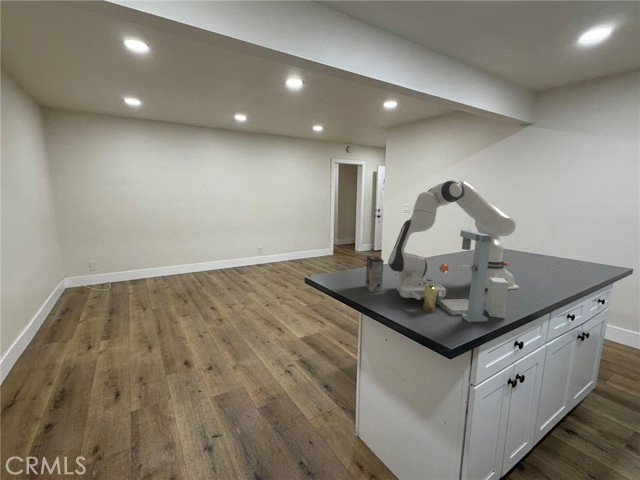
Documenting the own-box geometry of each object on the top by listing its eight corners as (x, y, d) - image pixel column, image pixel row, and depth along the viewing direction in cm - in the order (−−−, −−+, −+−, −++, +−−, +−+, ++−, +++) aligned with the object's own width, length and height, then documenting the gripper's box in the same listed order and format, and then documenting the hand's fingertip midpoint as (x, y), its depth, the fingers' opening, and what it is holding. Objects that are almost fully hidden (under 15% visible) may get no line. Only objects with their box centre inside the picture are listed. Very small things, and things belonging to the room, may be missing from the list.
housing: (431, 307, 130) (433, 282, 128) (436, 311, 125) (439, 285, 123) (421, 307, 129) (423, 282, 127) (426, 312, 125) (428, 285, 123)
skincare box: (505, 319, 120) (510, 283, 117) (488, 316, 122) (492, 281, 119) (500, 311, 127) (505, 277, 125) (484, 309, 129) (488, 276, 127)
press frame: (465, 306, 132) (473, 230, 126) (487, 321, 117) (498, 235, 111) (448, 307, 131) (455, 230, 125) (468, 321, 116) (478, 235, 110)
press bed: (466, 303, 136) (466, 298, 135) (483, 314, 124) (484, 309, 124) (437, 303, 134) (437, 299, 134) (452, 315, 122) (452, 310, 122)
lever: (471, 270, 117) (472, 262, 117) (476, 273, 114) (477, 265, 113) (437, 271, 115) (438, 263, 115) (441, 273, 112) (442, 265, 112)
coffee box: (365, 285, 157) (366, 255, 154) (377, 285, 158) (378, 255, 155) (369, 291, 148) (371, 260, 145) (382, 291, 149) (384, 260, 146)
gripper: (395, 280, 138) (407, 291, 124) (437, 280, 140) (453, 290, 127) (394, 293, 139) (406, 305, 125) (435, 292, 141) (451, 304, 128)
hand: (430, 297), depth 126 cm, fingers open, 8 cm apart
